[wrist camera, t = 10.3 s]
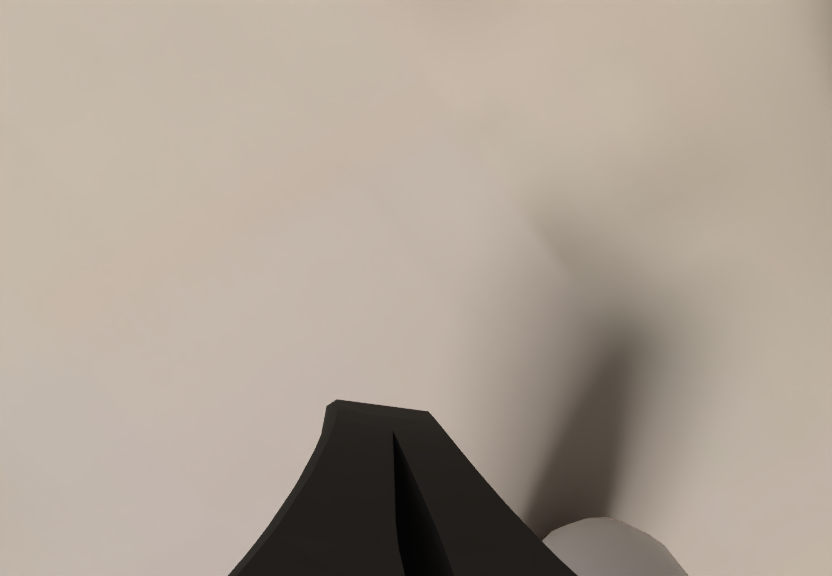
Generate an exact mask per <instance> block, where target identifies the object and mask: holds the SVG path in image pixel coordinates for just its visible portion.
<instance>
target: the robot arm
mask: <svg viewBox="0 0 832 576" xmlns="http://www.w3.org/2000/svg"><path fill="white" fill-rule="evenodd" d="M228 576H578V575H576V574H575V573H574V572H573V571H572V570H571V569H570V568H569V567H568V566H567V565H566V564H565V563H563V562H562V561H561V560H560V559H559V558H558V557H557V556H556V555H555V554H554V553H553V552H552V551H551V550H550V549H549V548H548V547H547V546H546V545H545V544H544V543H543V542H542V541H541V540H540V539H539V538H538V537H537V536H536V535H535V534H534V533H533V532H532V531H531V530H530V529H529V528H528V527H527V526H526V525H525V524H524V523H523V521H522V520H521V519H520V518H519V517H518V516H517V515H516V514H515V513H514V512H513V511H512V510H511V509H510V508H509V506H508V505H507V504H506V503H505V502H504V501H503V500H502V499H501V498H500V496H499V495H498V494H497V493H496V492H495V491H494V490H493V488H492V487H491V486H490V485H489V484H488V483H487V482H486V480H485V479H484V478H483V477H482V476H481V474H480V473H479V472H478V471H477V470H476V469H475V467H474V466H473V465H472V464H471V463H470V461H469V460H468V459H467V458H466V456H465V455H464V454H463V453H462V452H461V450H460V449H459V448H458V447H457V445H456V444H455V443H454V442H453V440H452V439H451V438H450V437H449V436H448V434H447V433H446V432H445V431H444V429H443V428H442V427H441V426H440V424H439V423H438V422H437V421H436V420H435V418H434V417H433V416H432V415H431V414H430V413H429V412H428V411H421V410H413V409H405V408H398V407H390V406H382V405H375V404H367V403H360V402H352V401H344V400H335V401H334V402H332V403H331V404H329V405H328V406H327V407H326V412H325V418H324V423H323V428H322V434H321V436H320V439H319V441H318V443H317V446H316V448H315V450H314V452H313V454H312V456H311V458H310V460H309V462H308V463H307V465H306V467H305V469H304V471H303V473H302V475H301V476H300V478H299V480H298V482H297V484H296V485H295V487H294V488H293V490H292V492H291V493H290V495H289V496H288V497H287V499H286V500H285V502H284V503H283V505H282V506H281V508H280V509H279V511H278V512H277V514H276V515H275V517H274V518H273V520H272V521H271V523H270V524H269V525H268V527H267V528H266V530H265V531H264V532H263V534H262V535H261V536H260V537H259V539H258V540H257V541H256V543H255V544H254V545H253V546H252V548H251V549H250V550H249V551H248V553H247V554H246V555H245V556H244V558H243V559H242V560H241V561H240V562H239V563H238V565H237V566H236V567H235V568H234V569H233V570H232V572H231V573H230V574H229V575H228Z"/></svg>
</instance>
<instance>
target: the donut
mask: <svg viewBox="0 0 832 576" xmlns="http://www.w3.org/2000/svg"><path fill="white" fill-rule="evenodd" d="M542 542H543V543H544V544H545V545H546V546H547V547H548V548H549V549H550V550H551V551H552V552H553V553H554V554H555V555H556V556H557V557H558V558H559V559H560V560H561V561H562V562H563V563H565V564H566V565H567V566H568V567H569V568H570V569H571V570H572V571H573V572H574V573H575V574H576V575H578V576H688V574H687V573H686V572H685V571H684V569H683V568H682V567H681V566H680V564H679V563H678V562H677V561H676V559H675V558H674V557H673V556H672V554H671V553H670V552H669V550H668V549H667V548H666V547H665V546H664V545H663V544H662V543H660V542H659V541H657V540H656V539H655V538H653V537H652V536H650V535H649V534H647V533H645V532H643V531H641V530H638V529H636V528H634V527H632V526H630V525H628V524H626V523H624V522H621V521H618V520H614V519H611V518H607V517H597V518H586V519H583V520H580V521H576V522H573V523H570V524H567V525H564V526H562V527H560V528H558V529H555V530H553V531H551V532H550V533H549V534H548V535H547V536H546V537H545V538H544V539H543V540H542Z"/></svg>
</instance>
